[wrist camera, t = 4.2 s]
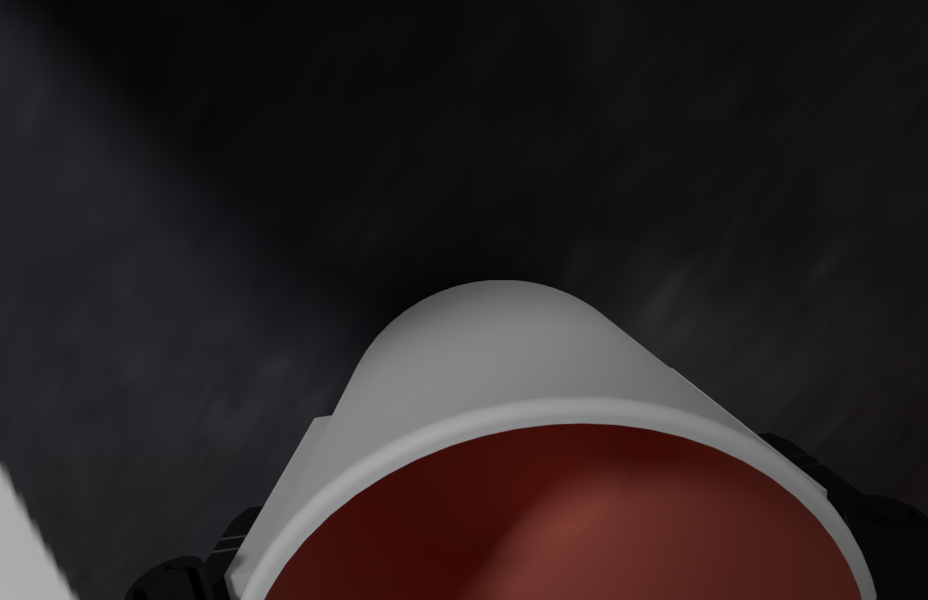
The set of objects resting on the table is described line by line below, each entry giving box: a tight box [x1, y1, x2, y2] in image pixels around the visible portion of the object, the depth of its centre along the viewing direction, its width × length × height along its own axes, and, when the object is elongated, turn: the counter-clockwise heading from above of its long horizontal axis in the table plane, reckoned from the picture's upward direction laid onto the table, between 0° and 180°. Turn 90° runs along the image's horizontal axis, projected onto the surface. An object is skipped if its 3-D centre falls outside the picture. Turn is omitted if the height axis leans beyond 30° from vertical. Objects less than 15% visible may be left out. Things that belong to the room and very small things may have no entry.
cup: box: [240, 280, 877, 600], centre depth 12 cm, size 10×10×10 cm
